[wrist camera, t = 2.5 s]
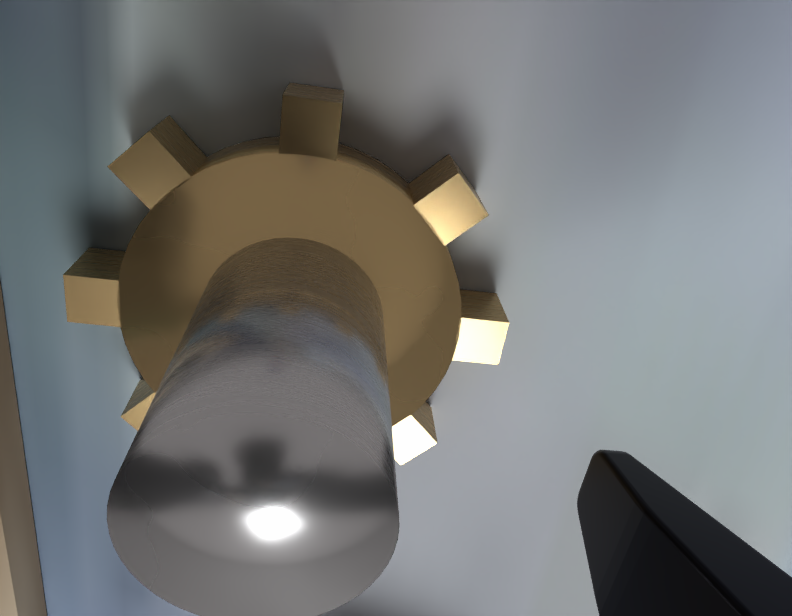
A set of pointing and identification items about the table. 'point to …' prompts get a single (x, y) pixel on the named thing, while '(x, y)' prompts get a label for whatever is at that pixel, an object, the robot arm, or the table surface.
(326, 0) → the table surface
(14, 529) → the gear board
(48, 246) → the table surface
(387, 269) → the bronze gear
